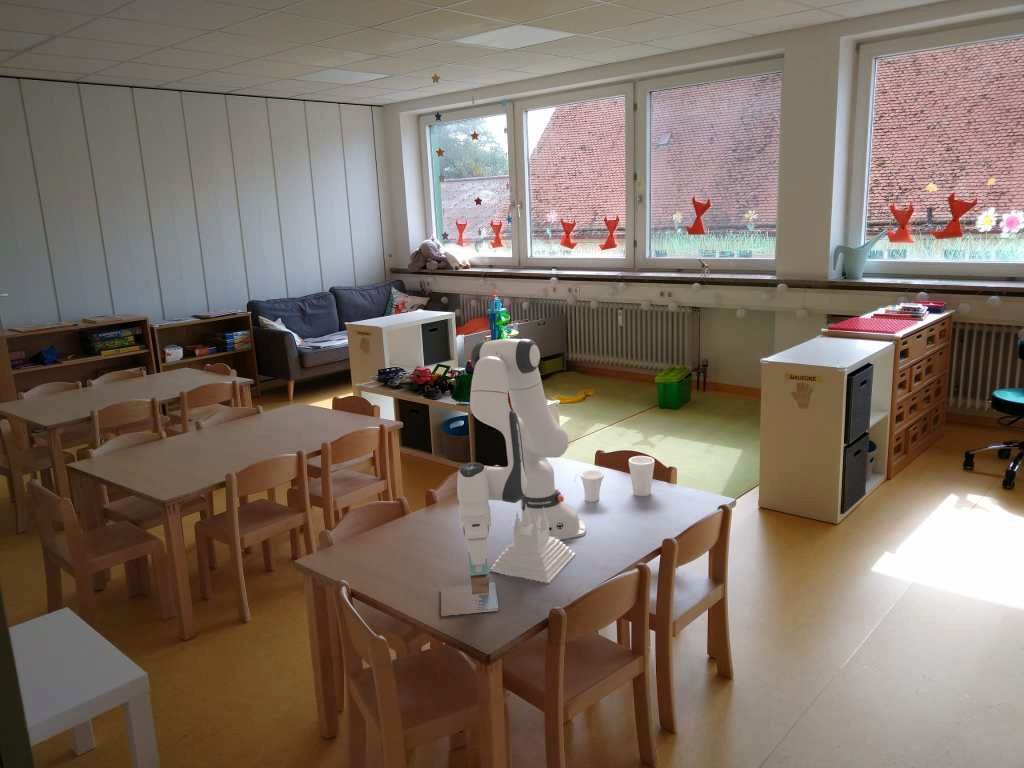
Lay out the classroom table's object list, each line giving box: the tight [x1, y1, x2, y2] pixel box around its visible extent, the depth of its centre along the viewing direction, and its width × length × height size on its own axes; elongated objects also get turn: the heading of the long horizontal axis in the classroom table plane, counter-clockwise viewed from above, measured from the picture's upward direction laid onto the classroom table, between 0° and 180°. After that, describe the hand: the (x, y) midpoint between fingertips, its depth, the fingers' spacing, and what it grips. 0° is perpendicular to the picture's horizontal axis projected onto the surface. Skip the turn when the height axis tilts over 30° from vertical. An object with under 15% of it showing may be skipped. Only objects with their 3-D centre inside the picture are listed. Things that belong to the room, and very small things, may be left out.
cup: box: [579, 469, 605, 503], centre depth 286 cm, size 9×9×10 cm
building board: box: [475, 581, 499, 610], centre depth 219 cm, size 16×15×1 cm
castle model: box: [491, 504, 576, 584], centre depth 237 cm, size 20×20×18 cm
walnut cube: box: [470, 573, 490, 595], centre depth 222 cm, size 5×5×5 cm
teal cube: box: [468, 551, 489, 577], centre depth 221 cm, size 5×5×5 cm
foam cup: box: [628, 455, 655, 497], centre depth 289 cm, size 10×9×13 cm
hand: (478, 565), depth 221 cm, fingers closed on teal cube, 5 cm apart
